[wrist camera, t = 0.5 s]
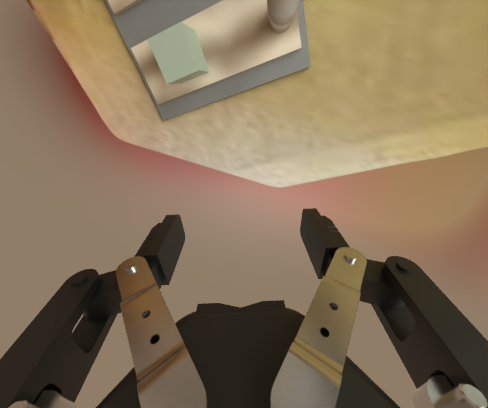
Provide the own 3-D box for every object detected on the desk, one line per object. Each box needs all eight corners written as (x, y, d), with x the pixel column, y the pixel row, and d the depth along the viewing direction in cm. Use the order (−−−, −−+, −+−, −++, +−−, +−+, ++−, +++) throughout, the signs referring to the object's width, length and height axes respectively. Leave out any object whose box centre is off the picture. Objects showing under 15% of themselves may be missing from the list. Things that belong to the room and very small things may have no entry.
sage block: (165, 45, 28) (147, 39, 24) (195, 30, 27) (181, 21, 23) (181, 83, 31) (166, 84, 27) (209, 71, 29) (198, 70, 25)
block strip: (133, 48, 30) (87, 38, 22) (290, -32, 23) (297, -84, 16) (160, 104, 34) (128, 111, 26) (300, 48, 27) (310, 36, 20)
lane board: (69, -77, 24) (64, -81, 24) (272, -247, 17) (272, -260, 17) (165, 119, 36) (163, 120, 35) (309, 66, 29) (310, 66, 28)
